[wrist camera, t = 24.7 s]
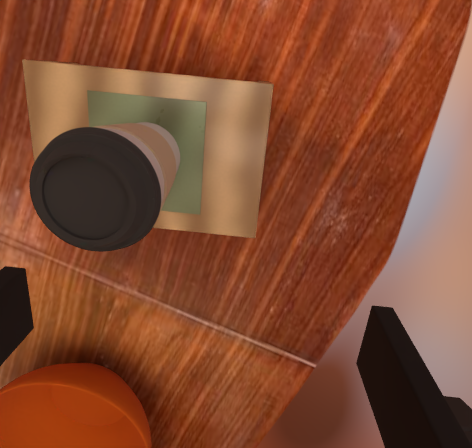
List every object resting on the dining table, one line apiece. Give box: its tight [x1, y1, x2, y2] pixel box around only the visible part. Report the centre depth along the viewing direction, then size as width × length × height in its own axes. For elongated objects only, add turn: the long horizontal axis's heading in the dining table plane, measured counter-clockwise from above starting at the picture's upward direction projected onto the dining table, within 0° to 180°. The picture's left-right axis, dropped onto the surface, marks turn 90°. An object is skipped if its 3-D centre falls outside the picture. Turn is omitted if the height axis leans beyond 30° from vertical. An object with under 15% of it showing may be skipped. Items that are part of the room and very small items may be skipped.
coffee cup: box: [30, 122, 180, 251], centre depth 31 cm, size 9×9×15 cm
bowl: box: [0, 363, 151, 448], centre depth 59 cm, size 25×25×10 cm
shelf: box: [22, 60, 274, 238], centre depth 42 cm, size 24×16×9 cm, turn 85°
